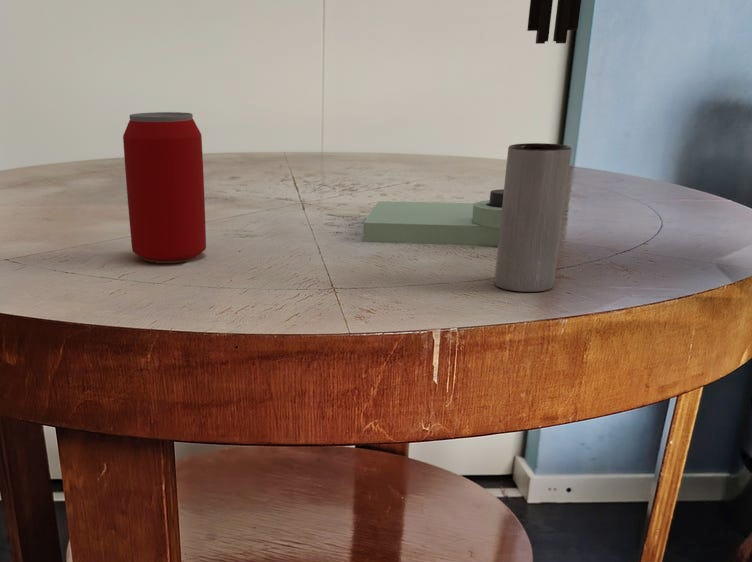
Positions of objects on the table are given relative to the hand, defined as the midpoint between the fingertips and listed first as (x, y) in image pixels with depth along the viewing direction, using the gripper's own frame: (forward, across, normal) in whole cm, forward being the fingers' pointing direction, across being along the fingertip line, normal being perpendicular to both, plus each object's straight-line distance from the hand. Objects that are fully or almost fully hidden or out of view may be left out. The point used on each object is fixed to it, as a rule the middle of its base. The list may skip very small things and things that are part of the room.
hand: (550, 42), depth 63 cm
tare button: (+14, -1, +17) cm, 22 cm away
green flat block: (+17, -7, +22) cm, 29 cm away
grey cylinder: (+17, 0, 0) cm, 17 cm away
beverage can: (+17, -31, +6) cm, 36 cm away
